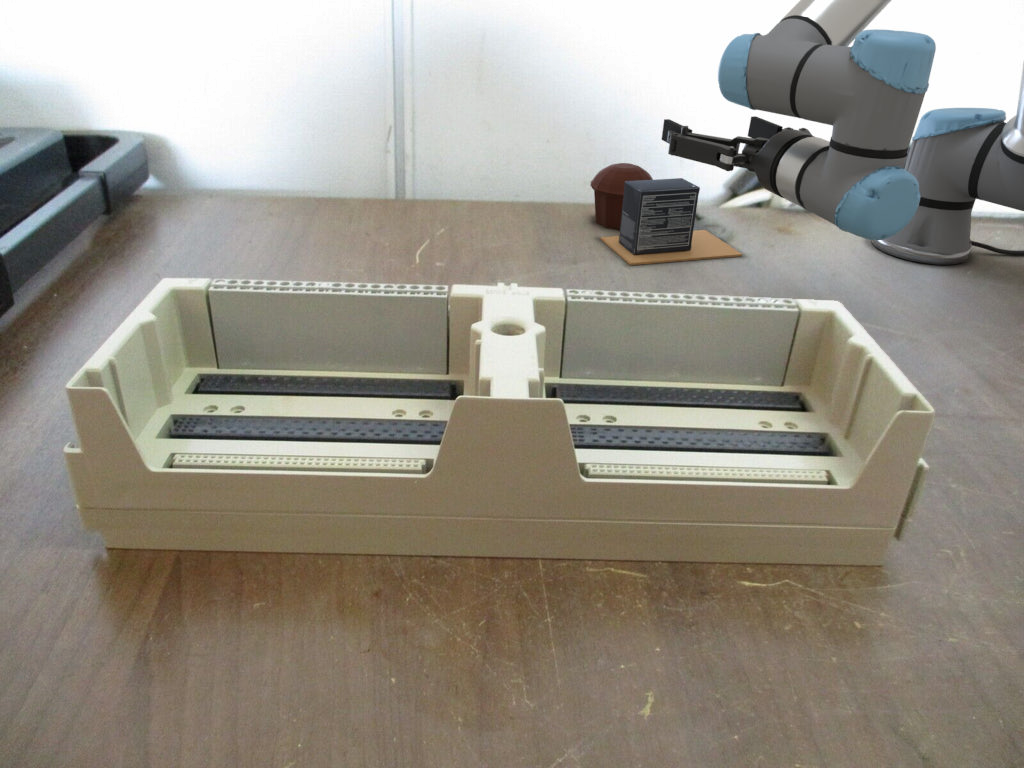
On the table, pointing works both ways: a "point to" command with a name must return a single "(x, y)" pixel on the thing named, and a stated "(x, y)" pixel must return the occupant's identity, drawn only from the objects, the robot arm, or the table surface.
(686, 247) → the small box
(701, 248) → the cork mat
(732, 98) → the robot arm
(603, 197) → the muffin
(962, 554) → the table surface
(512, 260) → the table surface
